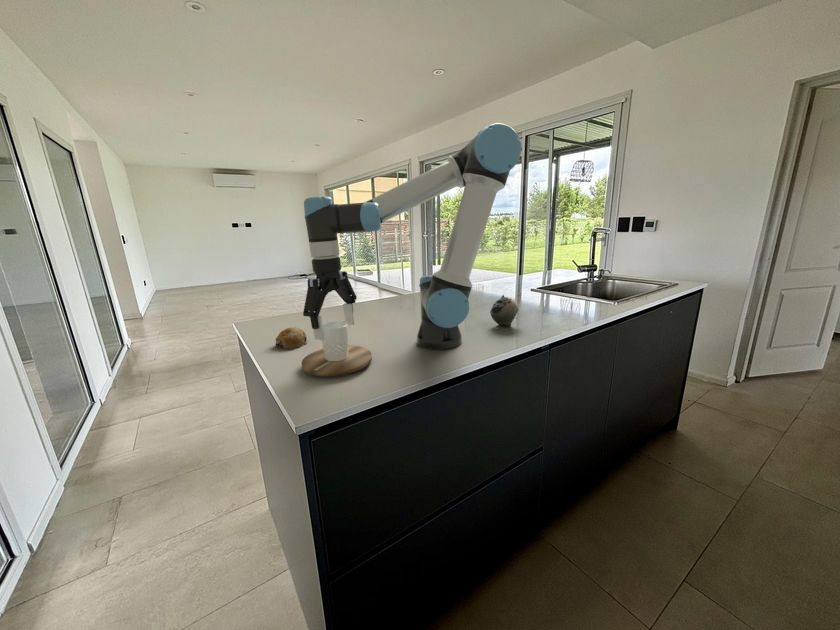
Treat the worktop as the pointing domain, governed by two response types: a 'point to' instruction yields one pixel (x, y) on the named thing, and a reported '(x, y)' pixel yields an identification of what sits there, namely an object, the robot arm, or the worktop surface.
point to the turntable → (336, 362)
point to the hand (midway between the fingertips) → (335, 331)
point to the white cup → (335, 340)
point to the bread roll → (291, 338)
